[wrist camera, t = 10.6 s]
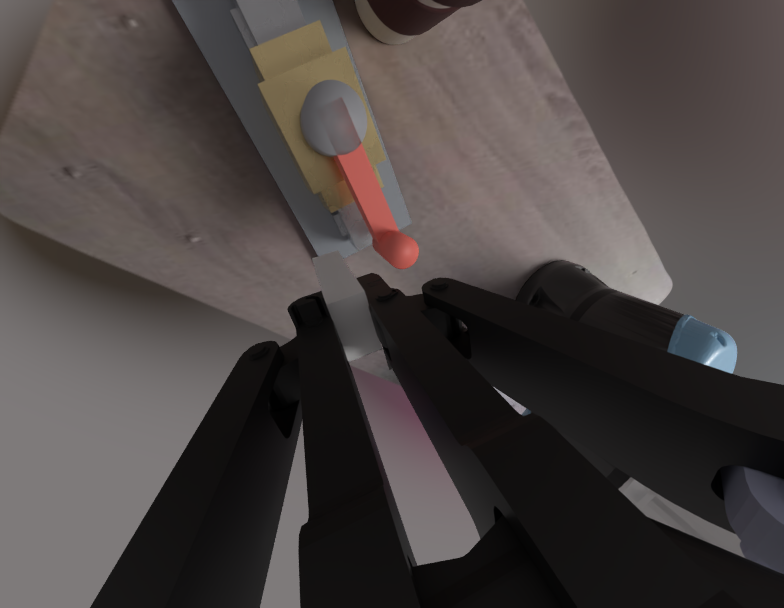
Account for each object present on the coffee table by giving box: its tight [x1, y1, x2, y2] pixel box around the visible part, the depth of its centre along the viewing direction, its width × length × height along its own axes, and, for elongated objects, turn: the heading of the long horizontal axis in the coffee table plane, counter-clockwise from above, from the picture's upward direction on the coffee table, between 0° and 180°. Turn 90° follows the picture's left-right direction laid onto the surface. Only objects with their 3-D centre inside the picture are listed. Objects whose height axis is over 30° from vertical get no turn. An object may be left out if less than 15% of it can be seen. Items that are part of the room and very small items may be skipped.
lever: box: [300, 80, 419, 269], centre depth 22 cm, size 14×4×6 cm, turn 25°
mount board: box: [172, 0, 412, 259], centre depth 29 cm, size 25×12×1 cm, turn 23°
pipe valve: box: [230, 0, 386, 251], centre depth 26 cm, size 22×7×7 cm, turn 23°
